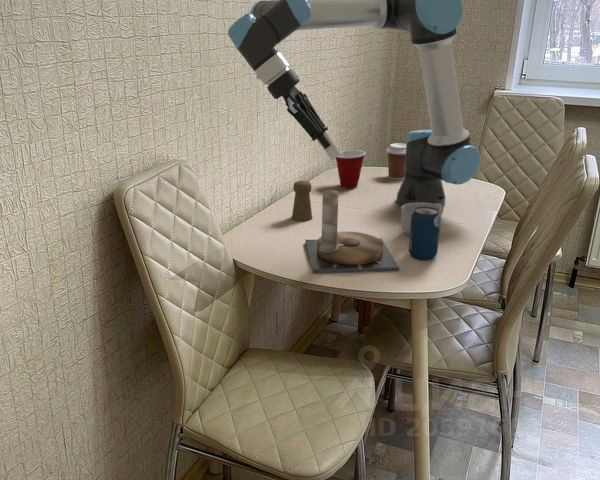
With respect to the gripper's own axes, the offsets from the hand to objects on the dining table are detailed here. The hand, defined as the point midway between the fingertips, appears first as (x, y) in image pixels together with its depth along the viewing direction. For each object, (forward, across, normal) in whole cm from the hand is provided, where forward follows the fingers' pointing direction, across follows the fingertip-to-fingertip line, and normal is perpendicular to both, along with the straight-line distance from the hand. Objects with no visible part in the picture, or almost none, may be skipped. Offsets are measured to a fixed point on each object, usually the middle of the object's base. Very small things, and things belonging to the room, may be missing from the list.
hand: (336, 156), depth 144 cm
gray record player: (+21, +9, -10) cm, 25 cm away
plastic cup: (+19, -54, -19) cm, 60 cm away
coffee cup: (+30, -70, -7) cm, 76 cm away
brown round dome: (+20, +10, -9) cm, 24 cm away
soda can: (+32, +5, +4) cm, 33 cm away
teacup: (+33, -12, +3) cm, 35 cm away
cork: (+12, -17, -24) cm, 32 cm away
